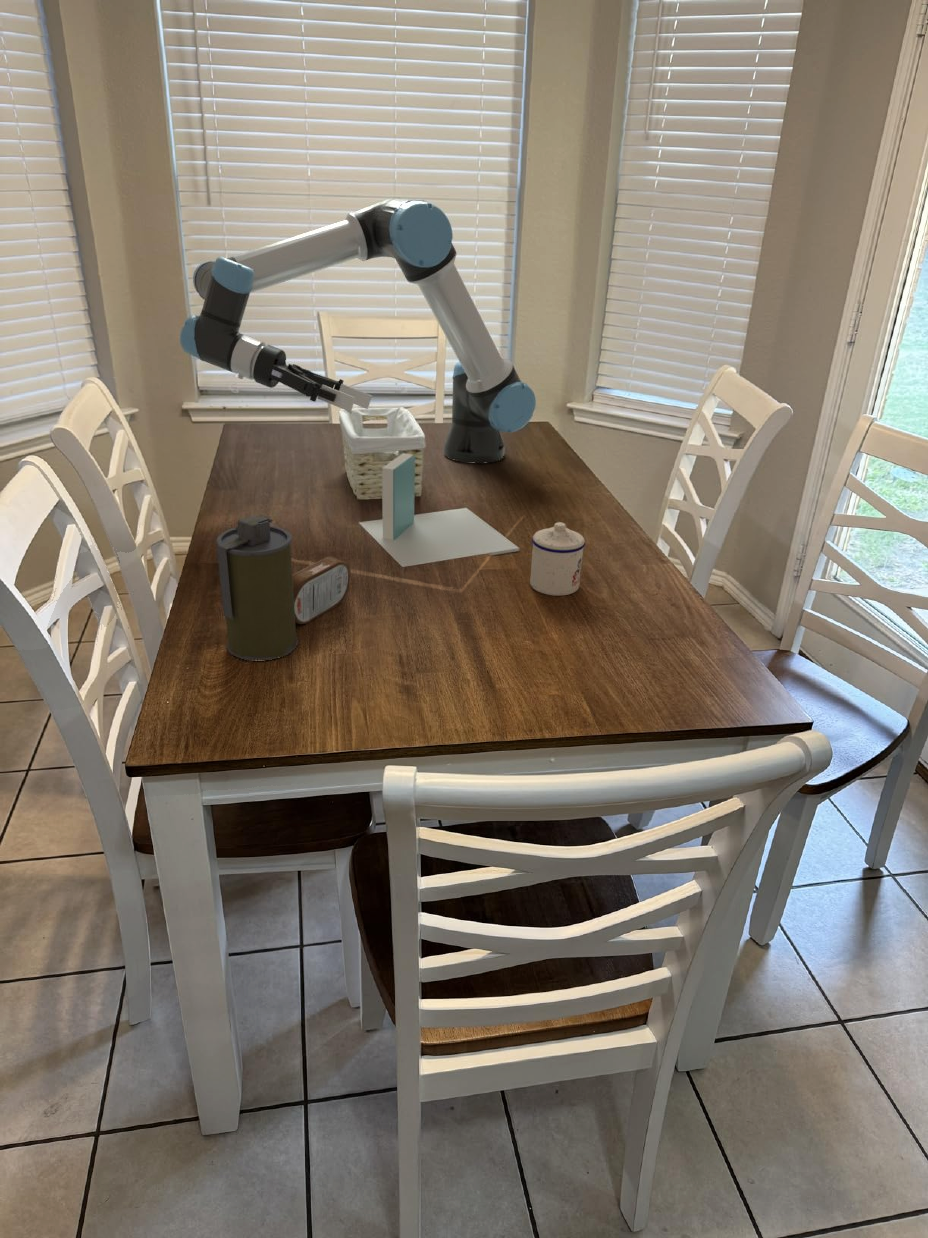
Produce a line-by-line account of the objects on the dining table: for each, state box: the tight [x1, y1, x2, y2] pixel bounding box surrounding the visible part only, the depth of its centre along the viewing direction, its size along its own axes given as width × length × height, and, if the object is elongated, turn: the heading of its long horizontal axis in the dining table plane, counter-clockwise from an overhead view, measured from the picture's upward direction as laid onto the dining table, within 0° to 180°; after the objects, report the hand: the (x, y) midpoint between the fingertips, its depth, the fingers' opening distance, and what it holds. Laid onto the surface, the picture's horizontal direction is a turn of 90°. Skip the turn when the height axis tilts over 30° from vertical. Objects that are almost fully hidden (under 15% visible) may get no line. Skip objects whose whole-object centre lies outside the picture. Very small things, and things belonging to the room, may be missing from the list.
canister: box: [216, 514, 299, 661], centre depth 128 cm, size 11×10×20 cm
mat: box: [358, 507, 520, 568], centre depth 172 cm, size 24×23×1 cm
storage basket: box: [338, 406, 427, 500], centre depth 195 cm, size 24×16×15 cm
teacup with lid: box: [529, 521, 586, 597], centre depth 153 cm, size 12×9×12 cm
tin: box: [292, 556, 351, 625], centre depth 140 cm, size 15×3×8 cm, turn 149°
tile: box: [381, 453, 415, 540], centre depth 170 cm, size 2×10×14 cm, turn 161°
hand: (361, 403), depth 170 cm, fingers open, 13 cm apart
